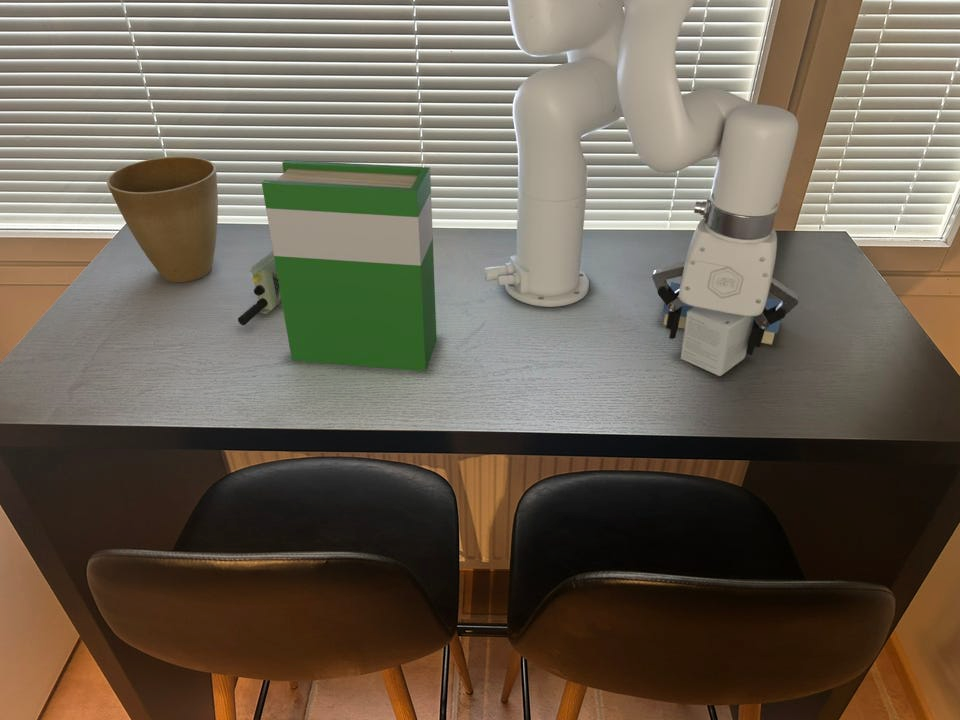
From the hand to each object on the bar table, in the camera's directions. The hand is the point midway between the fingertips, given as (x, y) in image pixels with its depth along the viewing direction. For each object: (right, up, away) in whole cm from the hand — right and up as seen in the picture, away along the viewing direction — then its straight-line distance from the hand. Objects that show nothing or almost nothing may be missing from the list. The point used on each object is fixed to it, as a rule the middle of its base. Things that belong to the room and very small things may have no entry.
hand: (711, 341), depth 97 cm
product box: (0, -2, +1) cm, 3 cm away
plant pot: (-75, +11, +21) cm, 79 cm away
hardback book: (-45, -1, +3) cm, 45 cm away
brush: (+3, +2, +8) cm, 9 cm away
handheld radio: (-58, +8, +17) cm, 61 cm away
